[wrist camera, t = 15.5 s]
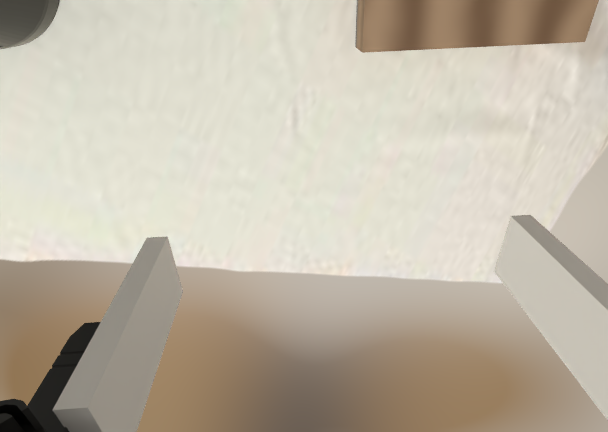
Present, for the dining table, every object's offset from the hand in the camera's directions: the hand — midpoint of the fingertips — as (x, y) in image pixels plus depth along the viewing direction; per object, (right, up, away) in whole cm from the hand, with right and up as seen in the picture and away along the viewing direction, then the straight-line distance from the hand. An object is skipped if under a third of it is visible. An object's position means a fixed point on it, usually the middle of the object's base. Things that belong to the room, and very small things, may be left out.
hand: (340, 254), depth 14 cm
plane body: (+15, +23, +23) cm, 36 cm away
